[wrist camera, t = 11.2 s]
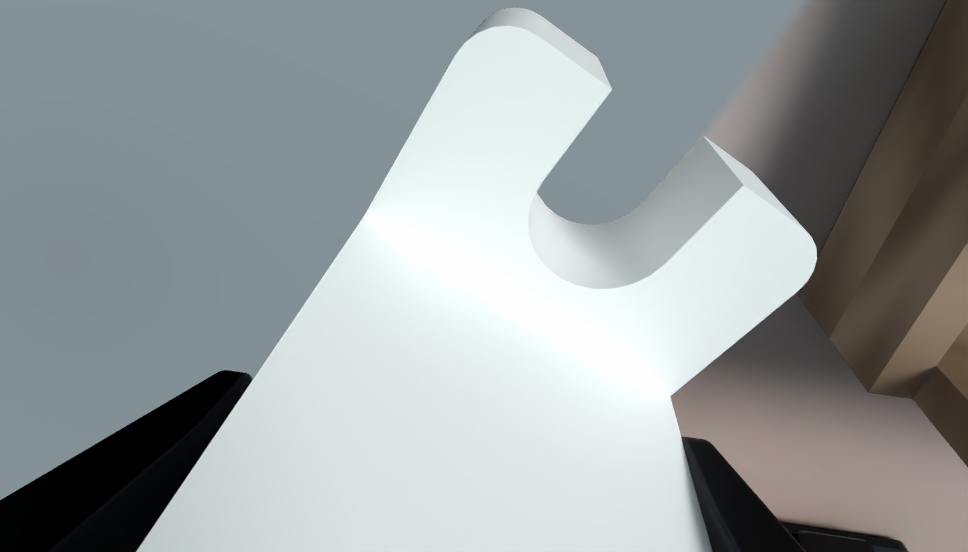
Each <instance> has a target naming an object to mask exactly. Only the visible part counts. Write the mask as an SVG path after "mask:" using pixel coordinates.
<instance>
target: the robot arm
mask: <svg viewBox="0 0 968 552" xmlns="http://www.w3.org/2000/svg"><path fill="white" fill-rule="evenodd" d="M252 380H253V379H252V377H251V376H250V375H249V374H247V373H242V372H234V371H228V370H224V371H220V372H218V373H216V374H214V375H212V376H211V377H209V378H207V379H206V380H204V381H202V382H200V383H199V384H197V385H195V386H194V387H192V388H190V389H189V390H187V391H185V392H183V393H182V394H180V395H179V396H177V397H175V398H173V399H172V400H170V401H168V402H166V403H165V404H163V405H161V406H160V407H158V408H156V409H155V410H153V411H151V412H149V413H148V414H146V415H144V416H143V417H141V418H139V419H138V420H136V421H134V422H132V423H131V424H129V425H127V426H126V427H124V428H122V429H121V430H119V431H117V432H115V433H114V434H112V435H110V436H109V437H107V438H105V439H104V440H102V441H100V442H99V443H97V444H95V445H93V446H92V447H90V448H89V449H87V450H85V451H83V452H81V453H80V454H78V455H76V456H75V457H73V458H71V459H70V460H68V461H66V462H64V463H63V464H61V465H59V466H58V467H56V468H54V469H53V470H51V471H49V472H47V473H46V474H44V475H42V476H41V477H39V478H37V479H36V480H34V481H32V482H30V483H29V484H27V485H25V486H24V487H22V488H20V489H19V490H17V491H15V492H13V493H12V494H10V495H9V496H7V497H5V498H3V499H2V500H0V552H136V551H137V550H138V548H139V547H140V545H141V544H142V543H143V541H144V540H145V538H146V537H147V535H148V534H149V532H150V531H151V529H152V528H153V526H154V525H155V523H156V522H157V520H158V519H159V517H160V516H161V515H162V513H163V512H164V510H165V509H166V507H167V506H168V504H169V503H170V501H171V500H172V498H173V497H174V495H175V494H176V492H177V491H178V489H179V488H180V487H181V485H182V484H183V482H184V481H185V479H186V478H187V476H188V475H189V473H190V472H191V470H192V469H193V467H194V466H195V464H196V463H197V461H198V460H199V459H200V457H201V456H202V454H203V453H204V451H205V450H206V448H207V447H208V445H209V444H210V442H211V441H212V439H213V438H214V436H215V435H216V433H217V432H218V431H219V429H220V428H221V426H222V425H223V423H224V422H225V420H226V419H227V417H228V416H229V414H230V413H231V411H232V410H233V408H234V407H235V405H236V404H237V402H238V401H239V400H240V398H241V397H242V395H243V394H244V392H245V391H246V389H247V388H248V386H249V385H250V383H251V382H252ZM681 438H682V442H683V446H684V451H685V454H686V458H687V462H688V466H689V469H690V473H691V477H692V480H693V484H694V488H695V491H696V495H697V499H698V502H699V506H700V510H701V513H702V516H703V520H704V523H705V526H706V530H707V534H708V537H709V541H710V545H711V548H712V552H908V550H907V548H906V547H905V545H904V543H902V542H901V541H898V540H893V539H886V538H879V537H872V536H866V535H859V534H852V533H845V532H839V531H832V530H825V529H818V528H812V527H805V526H798V525H792V524H785V523H781V522H780V521H779V520H778V519H777V518H776V517H775V516H774V514H773V513H772V512H771V511H770V510H769V509H768V508H767V506H766V505H765V504H764V503H763V502H762V501H761V500H760V498H759V497H758V496H757V495H756V494H755V493H754V492H753V490H752V489H751V488H750V487H749V486H748V485H747V484H746V482H745V481H744V480H743V479H742V478H741V477H740V476H739V474H738V473H737V472H736V471H735V470H734V469H733V468H732V466H731V465H730V464H729V463H728V462H727V461H726V460H725V458H724V457H723V456H722V455H721V454H720V453H719V452H718V450H717V449H716V448H715V447H714V446H713V445H712V444H711V443H710V442H708V441H707V440H704V439H697V438H690V437H681Z"/></svg>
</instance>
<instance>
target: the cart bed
mask: <svg viewBox="0 0 968 552" xmlns="http://www.w3.org/2000/svg"><path fill="white" fill-rule="evenodd" d="M799 297H800V299H801V300H802V301H803V303H804V304H805V306H806V307H807V308H808V310H809V311H810V313H811V314H812V315H813V317H814V318H815V319H816V321H817V322H818V324H819V325H820V326H821V328H822V329H823V331H824V332H825V333H826V335H827V336H828V337H829V339H830V340H831V342H832V343H833V344H834V346H835V347H836V349H837V350H838V351H839V353H840V354H841V355H842V357H843V358H844V360H845V361H846V362H847V364H848V365H849V366H850V368H851V369H852V371H853V372H854V373H855V375H856V376H857V378H858V379H859V380H860V382H861V383H862V384H863V386H864V387H865V389H866V390H867V391H868V393H875V394H882V395H890V396H897V397H904V398H911V399H913V400H914V401H915V403H916V404H917V405H918V406H919V407H920V409H921V410H922V411H923V412H924V414H925V415H926V416H927V417H928V419H929V420H930V421H931V422H932V424H933V425H934V426H935V427H936V428H937V430H938V431H939V432H940V433H941V435H942V436H943V437H944V438H945V440H946V441H947V442H948V443H949V445H950V446H951V447H952V448H953V449H954V451H955V452H956V453H957V454H958V456H959V457H960V458H961V459H962V461H963V462H964V463H965V464H966V465H967V467H968V0H947V1H946V3H945V5H944V7H943V9H942V11H941V13H940V15H939V17H938V19H937V21H936V23H935V25H934V27H933V29H932V31H931V33H930V35H929V37H928V39H927V41H926V43H925V45H924V47H923V49H922V51H921V53H920V55H919V57H918V59H917V61H916V63H915V65H914V67H913V69H912V71H911V73H910V75H909V77H908V79H907V81H906V83H905V85H904V87H903V89H902V91H901V93H900V95H899V97H898V99H897V101H896V103H895V105H894V107H893V109H892V111H891V113H890V115H889V117H888V119H887V121H886V123H885V125H884V127H883V129H882V131H881V133H880V135H879V137H878V139H877V141H876V143H875V145H874V147H873V149H872V151H871V153H870V155H869V157H868V159H867V161H866V163H865V165H864V167H863V169H862V171H861V173H860V175H859V177H858V179H857V181H856V183H855V185H854V187H853V189H852V191H851V193H850V195H849V197H848V199H847V201H846V203H845V205H844V207H843V209H842V211H841V213H840V215H839V217H838V219H837V221H836V223H835V225H834V227H833V229H832V231H831V233H830V235H829V237H828V239H827V241H826V243H825V245H824V247H823V249H822V251H821V253H820V255H819V257H818V259H817V261H816V265H815V268H814V271H813V273H812V275H811V276H810V278H809V280H808V281H807V282H806V283H805V285H804V287H803V289H802V291H801V293H800V295H799Z"/></svg>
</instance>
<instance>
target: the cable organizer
mask: <svg viewBox="0 0 968 552" xmlns="http://www.w3.org/2000/svg"><path fill="white" fill-rule="evenodd" d="M611 90H612V89H611V86H610V84H609V82H608V80H607V78H606V75H605V73H604V71H603V68H602V66H601V64H600V62H599V60H598V58H597V57H596V56H595V55H593V54H592V53H591V52H589V51H588V50H586V49H585V48H584V47H582V46H581V45H580V44H578V43H577V42H576V41H574V40H573V39H571V38H570V37H569V36H567V35H566V34H565V33H563V32H562V31H561V30H559V29H558V28H557V27H555V26H553V24H551V23H550V22H548V21H547V20H546V19H544V18H543V17H541V16H540V15H538V14H536V13H534V12H533V11H531V10H527V9H522V8H518V7H517V8H507V9H503V10H500V11H498V12H495V13H493V14H492V15H490V16H489V17H488V18H486V19H485V20H484V21H483V22H482V23H481V24H480V25H479V27H478V28H477V29H476V30H475V31H474V32H473V34H472V35H471V36H470V37H469V38H468V40H467V41H466V42H465V43H464V44H463V46H462V47H461V48H460V50H459V51H458V52H457V54H456V55H455V57H454V58H453V60H452V62H451V64H450V66H449V67H448V69H447V71H446V73H445V74H444V76H443V78H442V79H441V81H440V83H439V85H438V87H437V89H436V90H435V92H434V94H433V95H432V97H431V99H430V101H429V102H428V104H427V106H426V108H425V109H424V111H423V113H422V115H421V116H420V118H419V120H418V122H417V124H416V125H415V127H414V129H413V131H412V132H411V134H410V136H409V138H408V139H407V141H406V143H405V145H404V147H403V148H402V150H401V152H400V154H399V155H398V157H397V159H396V161H395V162H394V164H393V166H392V168H391V169H390V171H389V173H388V175H387V176H386V178H385V180H384V182H383V183H382V185H381V187H380V189H379V191H378V192H377V194H376V196H375V198H374V199H373V201H372V203H371V205H370V206H369V208H368V210H367V212H366V213H365V215H364V217H363V218H362V220H361V221H360V223H359V224H358V226H357V227H356V229H355V230H354V232H353V233H352V234H351V236H350V237H349V239H348V240H347V242H346V243H345V245H344V246H343V248H342V249H341V251H340V252H339V254H338V255H337V257H336V258H335V260H334V261H333V263H332V264H331V266H330V267H329V268H328V270H327V272H326V273H325V274H324V276H323V277H322V279H321V280H320V282H319V283H318V285H317V286H316V288H315V289H314V291H313V292H312V293H311V295H310V297H309V298H308V299H307V301H306V302H305V304H304V305H303V307H302V308H301V310H300V311H299V313H298V314H297V316H296V317H295V319H294V320H293V321H292V323H291V324H290V326H289V327H288V329H287V330H286V332H285V333H284V335H283V336H282V338H281V339H280V341H279V342H278V344H277V345H276V347H275V348H274V349H273V351H272V352H271V354H270V355H269V357H268V358H267V360H266V361H265V363H264V364H263V366H262V367H261V369H260V370H259V372H258V373H257V375H256V376H255V378H254V379H253V380H252V382H251V383H250V385H249V386H248V388H247V389H246V391H245V392H244V394H243V395H242V397H241V398H240V400H239V401H238V402H237V404H236V405H235V407H234V408H233V410H232V411H231V413H230V414H229V416H228V417H227V419H226V420H225V422H224V423H223V425H222V426H221V428H220V429H219V431H218V432H217V433H216V435H215V436H214V438H213V439H212V441H211V442H210V444H209V445H208V447H207V448H206V450H205V451H204V453H203V454H202V456H201V457H200V459H199V460H198V461H197V463H196V464H195V466H194V467H193V469H192V470H191V472H190V473H189V475H188V476H187V478H186V479H185V481H184V482H183V484H182V485H181V487H180V488H179V489H178V491H177V492H176V494H175V495H174V497H173V498H172V500H171V501H170V503H169V504H168V506H167V507H166V509H165V510H164V512H163V513H162V515H161V516H160V517H159V519H158V520H157V522H156V523H155V525H154V526H153V528H152V529H151V531H150V532H149V534H148V535H147V537H146V538H145V540H144V541H143V543H142V544H141V545H140V547H139V548H138V550H137V551H136V552H712V548H711V545H710V541H709V537H708V534H707V530H706V526H705V523H704V520H703V516H702V513H701V510H700V506H699V502H698V499H697V495H696V491H695V488H694V484H693V480H692V477H691V473H690V469H689V466H688V462H687V458H686V454H685V451H684V446H683V442H682V438H681V434H680V431H679V427H678V423H677V420H676V416H675V412H674V409H673V405H672V401H671V398H670V396H671V395H672V394H673V393H675V392H676V391H677V390H678V389H680V388H681V387H682V386H683V385H684V384H686V383H687V382H688V381H689V380H691V379H692V378H693V377H694V376H695V375H697V374H698V373H699V372H700V371H701V370H703V369H704V368H705V367H706V366H708V365H709V364H710V363H711V362H712V361H714V360H715V359H716V358H717V357H719V356H720V355H721V354H722V353H723V352H725V351H726V350H727V349H728V348H729V347H731V346H732V345H733V344H734V343H736V342H737V341H738V340H739V339H740V338H742V337H743V336H744V335H745V334H746V333H748V332H749V331H750V330H751V329H753V328H754V327H755V326H756V325H757V324H759V323H760V322H761V321H762V320H764V319H765V318H766V317H767V316H768V315H770V314H771V313H772V312H773V311H774V310H776V309H777V308H778V307H779V306H781V305H782V304H783V303H784V302H785V301H787V300H788V299H789V298H790V297H791V296H793V295H794V294H795V293H796V292H798V291H799V290H800V289H801V288H802V287H803V285H804V284H805V283H806V282H807V281H808V280H809V278H810V276H811V275H812V273H813V271H814V268H815V265H816V261H817V249H816V245H815V243H814V241H813V239H812V237H811V236H810V235H809V233H808V232H807V231H806V230H805V229H804V228H803V227H802V226H801V225H800V224H799V222H798V221H797V220H796V219H795V218H794V217H793V216H792V215H791V214H790V213H789V211H788V210H787V209H786V208H785V207H784V206H783V205H782V204H781V203H780V201H779V200H778V199H777V198H776V197H775V196H774V195H773V194H772V193H771V192H770V190H769V189H768V188H767V187H766V186H765V185H764V184H763V183H762V182H761V181H760V179H759V178H758V177H757V176H756V175H755V174H754V173H753V172H752V171H751V170H749V169H748V168H747V167H745V166H744V165H743V164H741V163H740V162H738V161H737V160H736V159H734V158H733V157H732V156H730V155H729V154H728V153H726V152H725V151H724V150H722V149H721V148H719V147H718V146H717V145H715V144H714V143H713V142H711V141H710V140H709V139H707V138H706V137H705V136H703V135H702V136H701V137H700V139H699V140H698V141H697V142H696V143H695V144H694V145H693V146H692V148H691V149H690V150H689V151H688V152H687V153H686V154H685V155H684V156H683V158H682V159H681V160H680V161H679V162H678V163H677V164H676V165H675V167H674V168H673V169H672V170H671V171H670V172H669V173H668V174H667V175H666V177H665V178H664V179H663V180H662V181H661V182H660V183H659V184H658V186H657V187H656V188H655V189H654V190H653V191H652V192H651V193H650V194H649V196H648V197H647V198H646V199H645V200H644V201H643V202H642V203H641V204H640V205H639V206H638V207H636V208H635V209H634V210H633V211H632V212H631V213H629V214H627V215H625V216H623V217H621V218H620V219H618V220H615V221H611V222H608V223H604V224H596V225H595V224H594V225H584V224H579V223H574V222H570V221H568V220H565V219H564V218H562V217H559V216H557V215H556V214H555V213H554V212H552V211H551V210H550V209H549V208H548V207H547V206H545V204H544V203H543V201H542V200H541V198H540V197H539V195H538V194H537V190H538V188H539V187H540V185H541V183H542V182H543V180H544V179H545V178H546V176H547V175H548V174H549V172H550V171H551V170H552V168H553V167H554V166H555V164H556V163H557V162H558V160H559V159H560V157H561V156H562V155H563V154H564V152H565V151H566V150H567V148H568V147H569V146H570V144H571V143H572V142H573V140H574V139H575V138H576V137H577V135H578V133H580V131H581V130H582V129H583V127H584V126H585V125H586V123H587V122H588V121H589V119H590V118H591V117H592V115H593V114H594V113H595V111H596V110H597V109H598V107H599V106H600V105H601V103H602V102H603V101H604V99H605V98H606V97H607V95H608V94H609V93H610V92H611Z"/></svg>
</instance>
